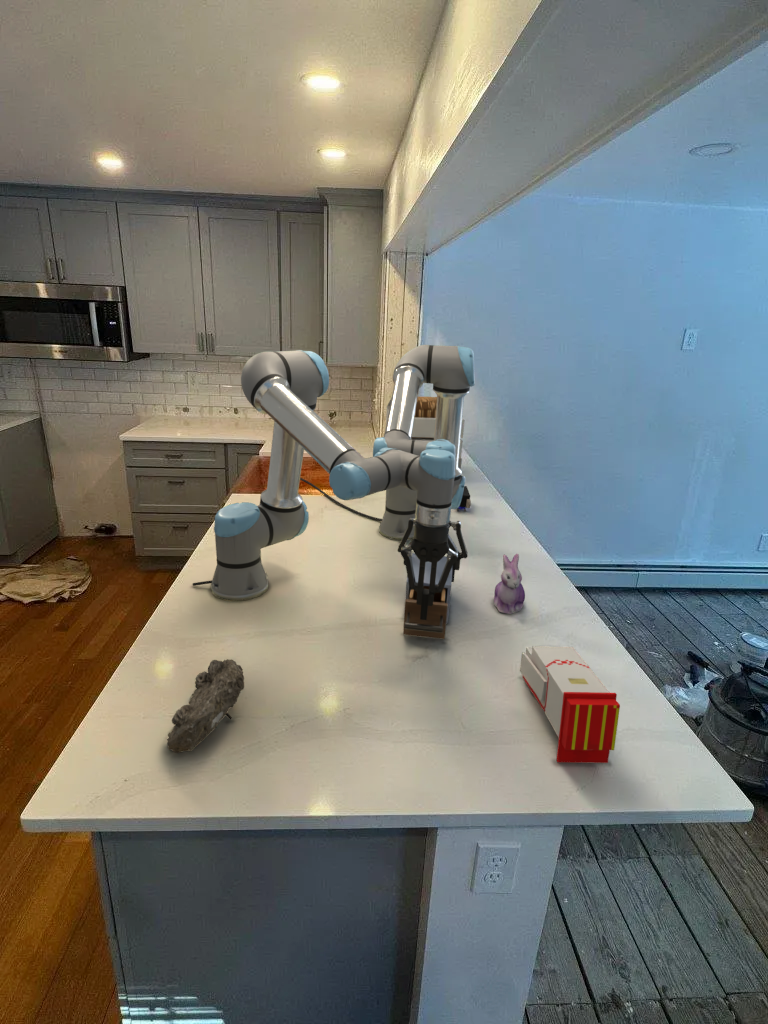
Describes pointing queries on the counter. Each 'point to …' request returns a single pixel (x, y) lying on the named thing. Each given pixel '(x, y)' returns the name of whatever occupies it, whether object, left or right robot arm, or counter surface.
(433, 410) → the grey slatted crate
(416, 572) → the cabinet
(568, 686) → the toy
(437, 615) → the drawer
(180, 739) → the fossil
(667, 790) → the counter surface
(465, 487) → the figurine character
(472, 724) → the counter surface
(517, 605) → the figurine
